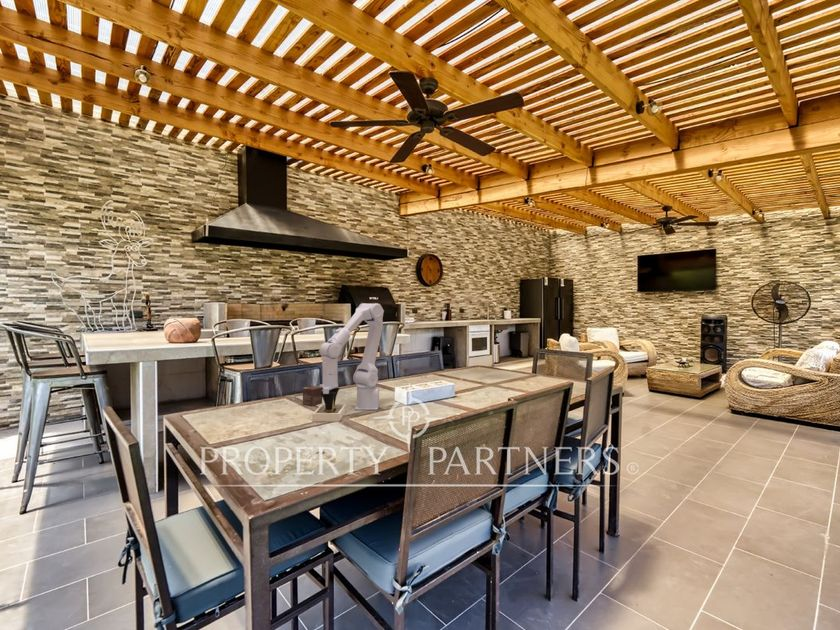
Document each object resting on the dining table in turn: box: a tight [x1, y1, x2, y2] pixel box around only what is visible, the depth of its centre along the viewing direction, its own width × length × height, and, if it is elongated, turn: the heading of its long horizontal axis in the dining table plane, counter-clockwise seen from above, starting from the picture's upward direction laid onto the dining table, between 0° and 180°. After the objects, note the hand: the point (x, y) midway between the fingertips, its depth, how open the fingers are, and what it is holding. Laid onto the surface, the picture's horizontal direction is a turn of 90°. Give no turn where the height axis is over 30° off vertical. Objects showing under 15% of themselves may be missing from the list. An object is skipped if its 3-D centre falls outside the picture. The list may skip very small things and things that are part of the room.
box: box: [302, 385, 323, 407], centre depth 177 cm, size 6×6×7 cm
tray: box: [312, 403, 347, 423], centre depth 158 cm, size 10×14×3 cm
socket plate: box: [318, 407, 342, 413], centre depth 158 cm, size 8×8×2 cm
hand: (330, 408), depth 158 cm, fingers open, 4 cm apart
